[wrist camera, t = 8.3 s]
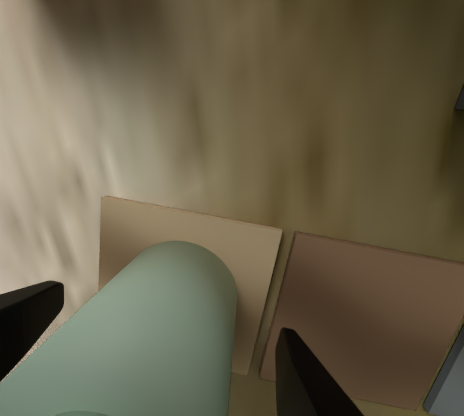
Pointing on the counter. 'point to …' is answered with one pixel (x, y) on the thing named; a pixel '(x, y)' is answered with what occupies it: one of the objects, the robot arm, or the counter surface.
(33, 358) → the pawn
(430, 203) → the counter surface
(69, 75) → the counter surface
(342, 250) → the game track
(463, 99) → the grey square tray
